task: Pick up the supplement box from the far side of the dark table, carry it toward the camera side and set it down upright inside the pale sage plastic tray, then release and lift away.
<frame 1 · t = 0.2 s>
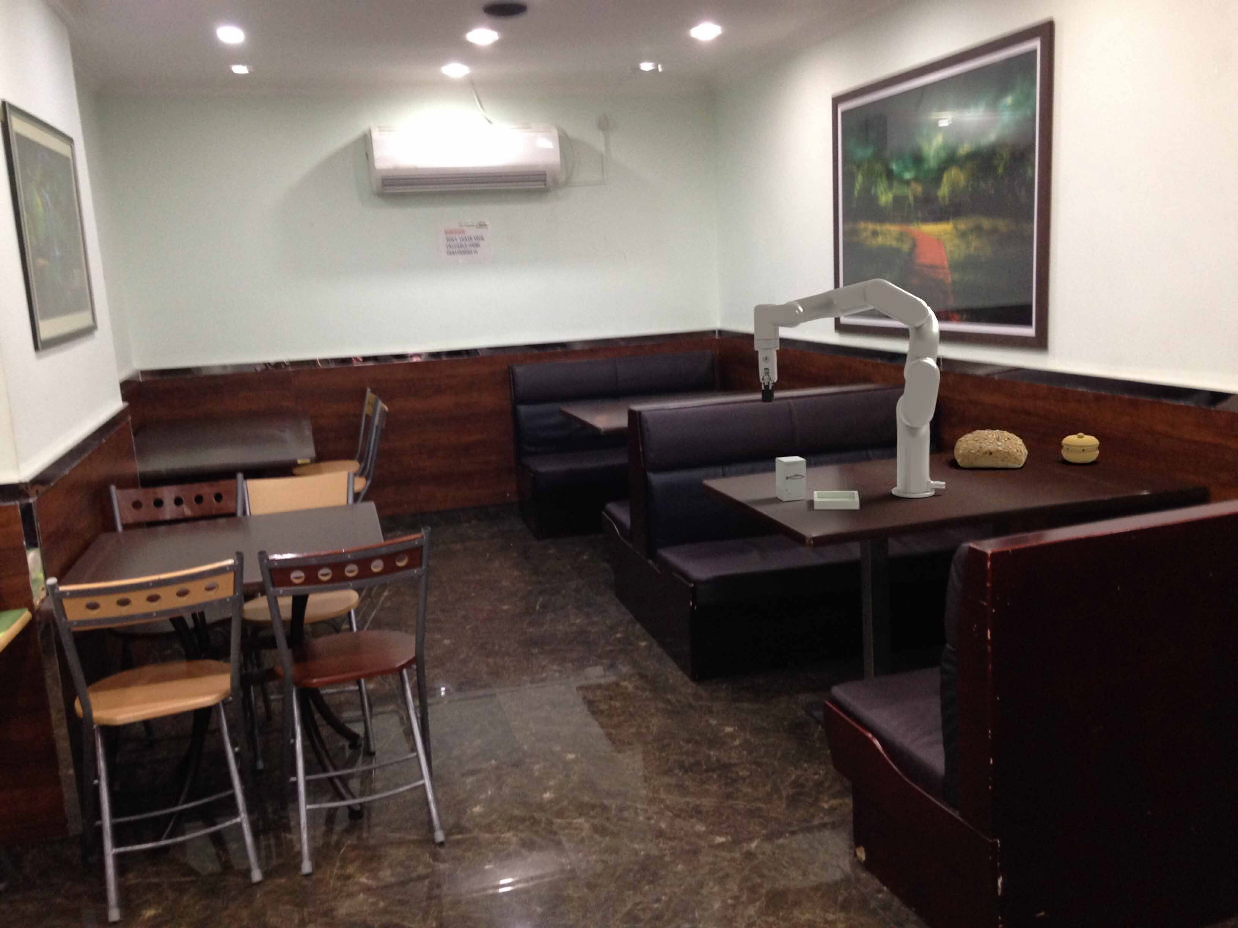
hand: (768, 400, 321), 30 cm above the table, tool pointing down, fingers open, 9 cm apart
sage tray: (836, 503, 311), on the table
bread: (990, 464, 357), on the table
supplement box: (791, 498, 322), on the table
pot: (1079, 462, 353), on the table
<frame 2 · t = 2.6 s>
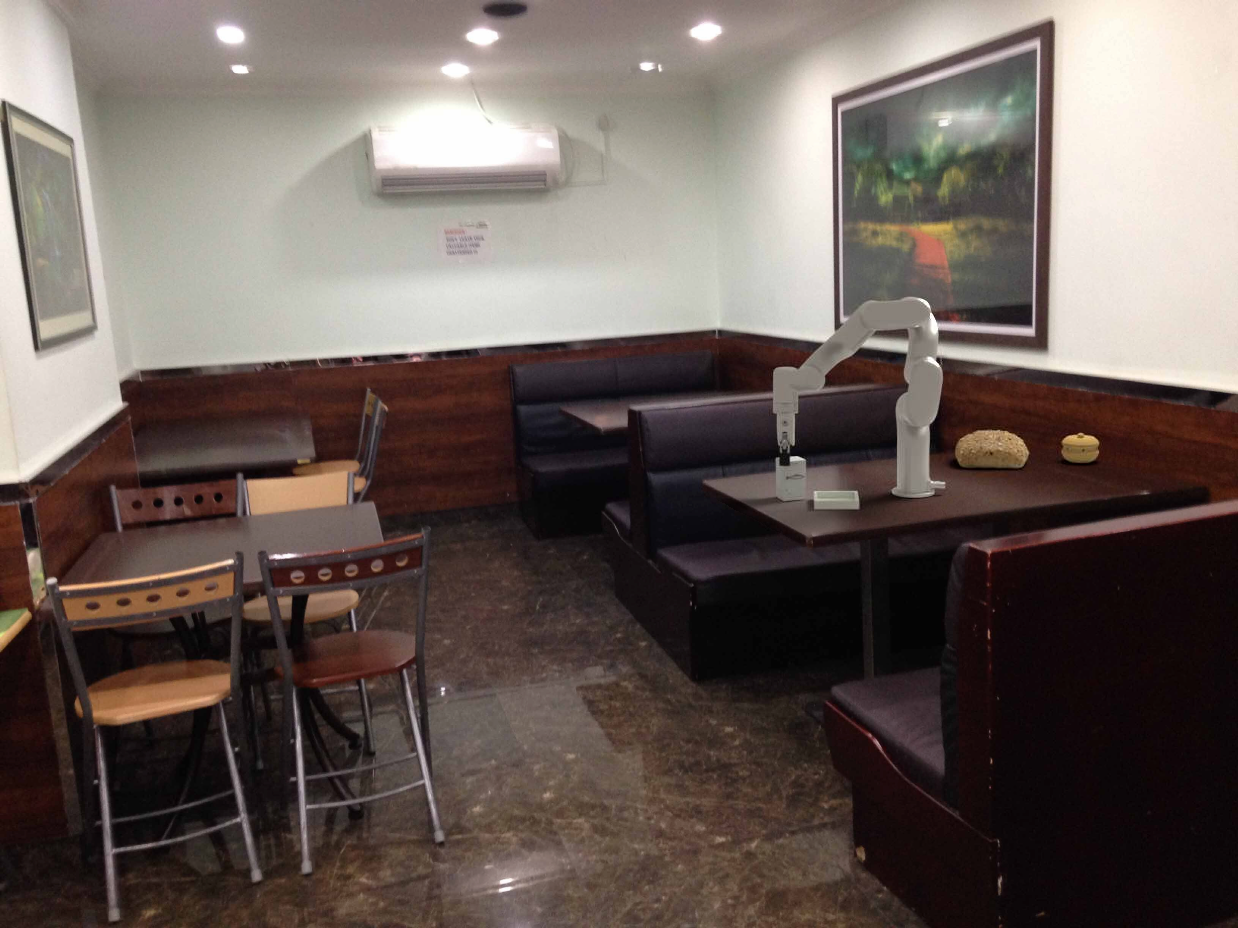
hand: (785, 462, 320), 11 cm above the table, tool pointing down, fingers open, 9 cm apart
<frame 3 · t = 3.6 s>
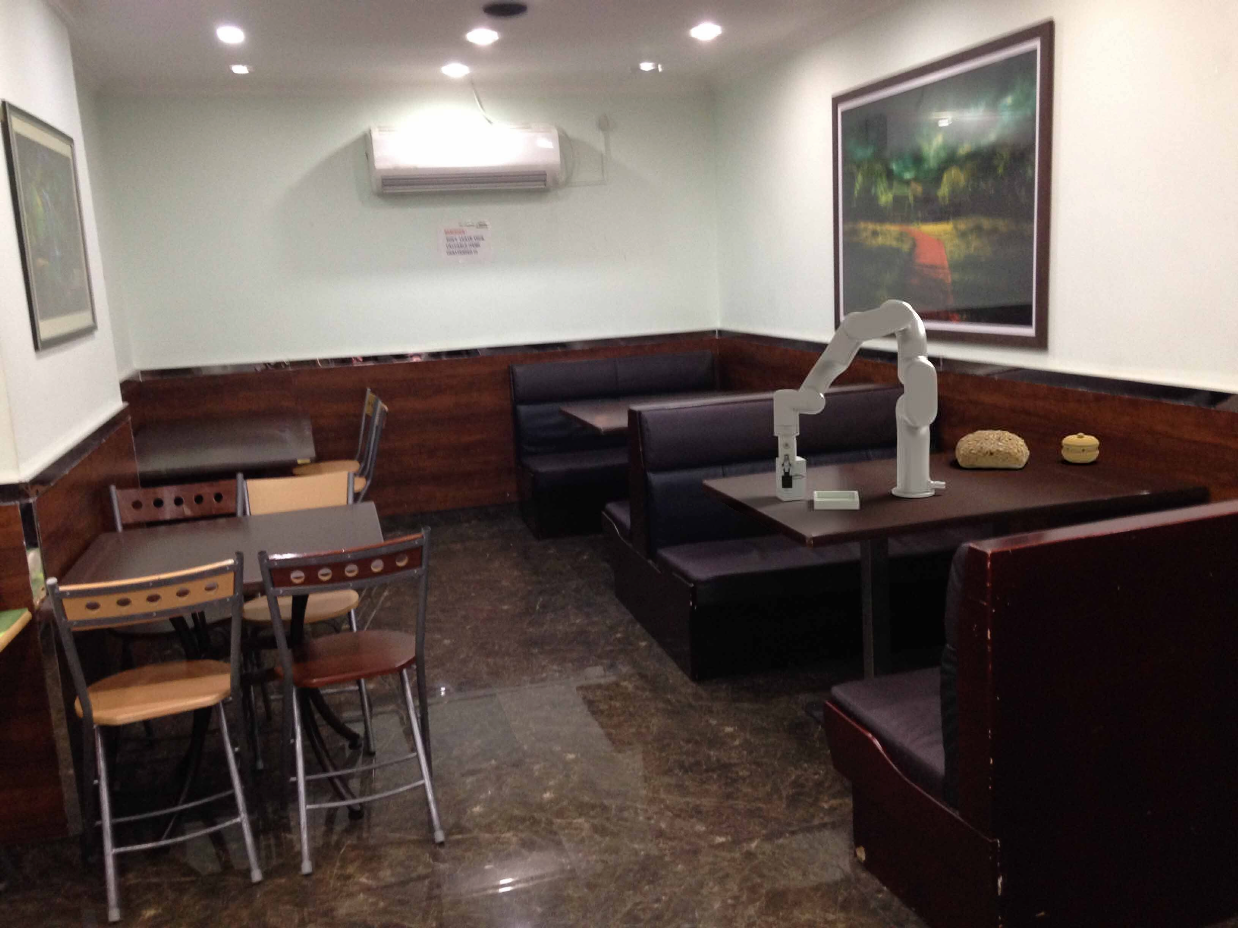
hand: (787, 484, 321), 4 cm above the table, tool pointing down, fingers open, 9 cm apart
nothing on the table moved.
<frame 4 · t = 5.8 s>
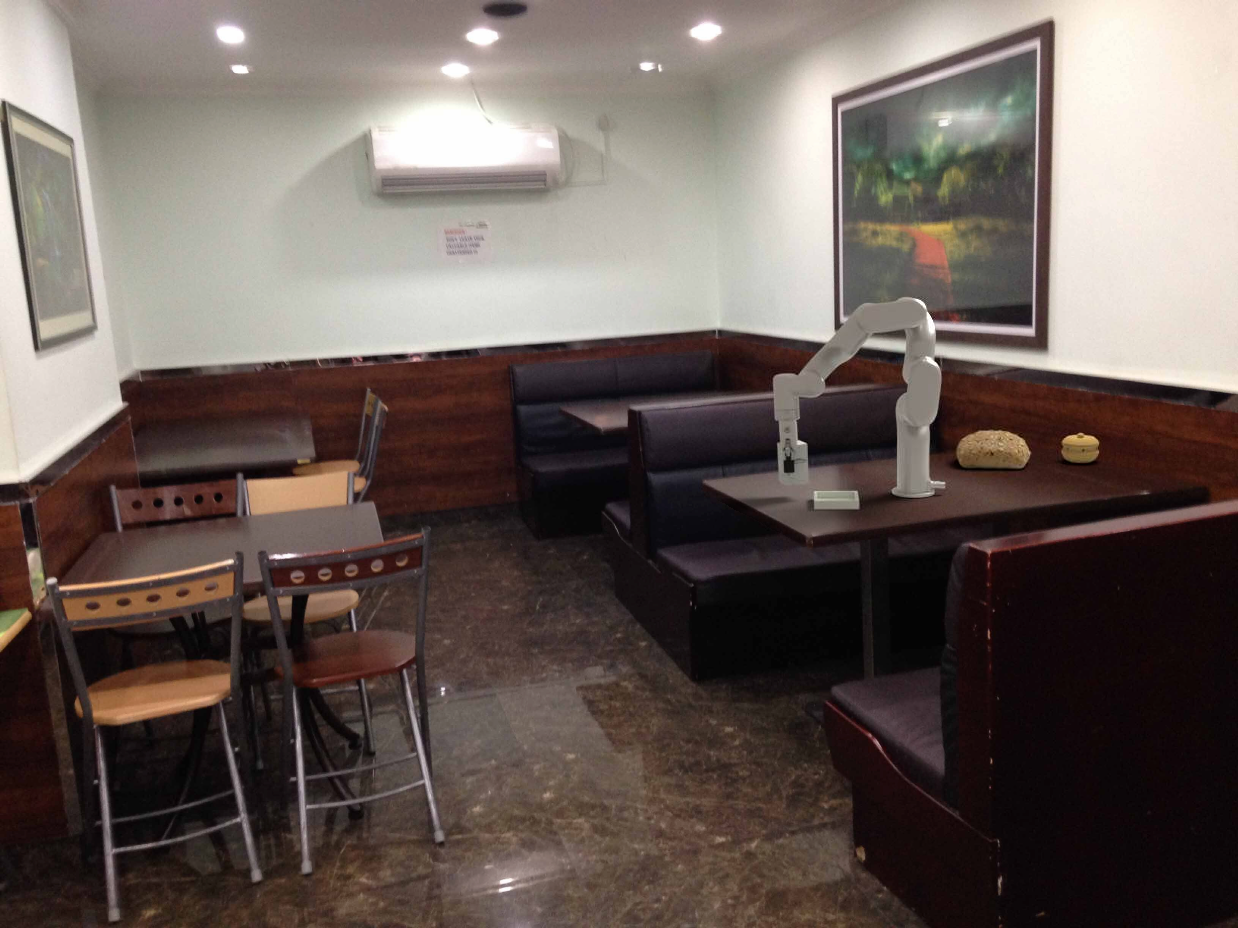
hand: (789, 469, 320), 9 cm above the table, tool pointing down, fingers closed on supplement box, 8 cm apart
supplement box: (793, 483, 321), point 5 cm above the table, touching gripper
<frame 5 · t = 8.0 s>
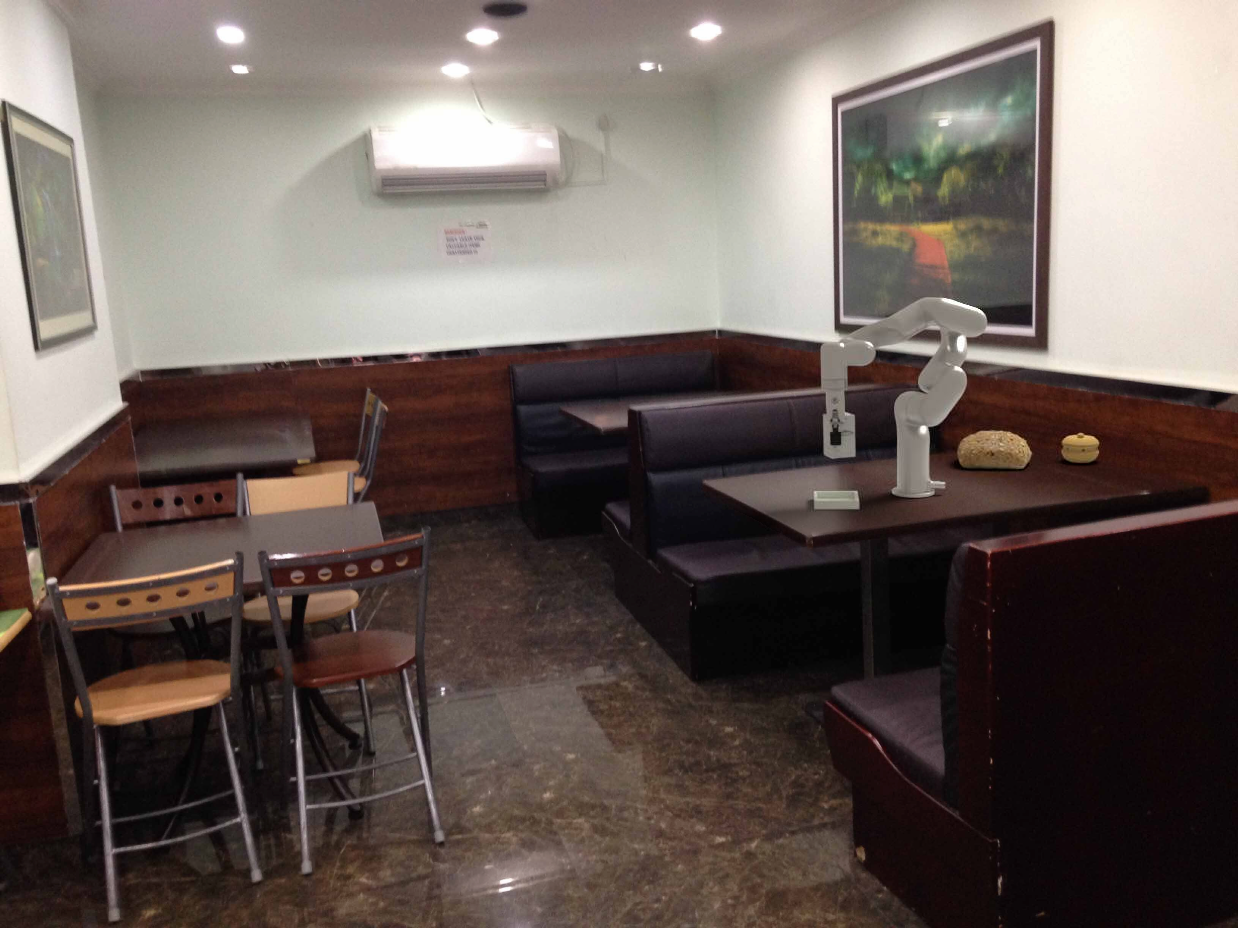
hand: (835, 442, 308), 19 cm above the table, tool pointing down, fingers closed on supplement box, 8 cm apart
supplement box: (839, 456, 309), point 14 cm above the table, touching gripper
when the fingers open (6 cm above the table, at t = 11.7 s): supplement box stays where it is, resting on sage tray.
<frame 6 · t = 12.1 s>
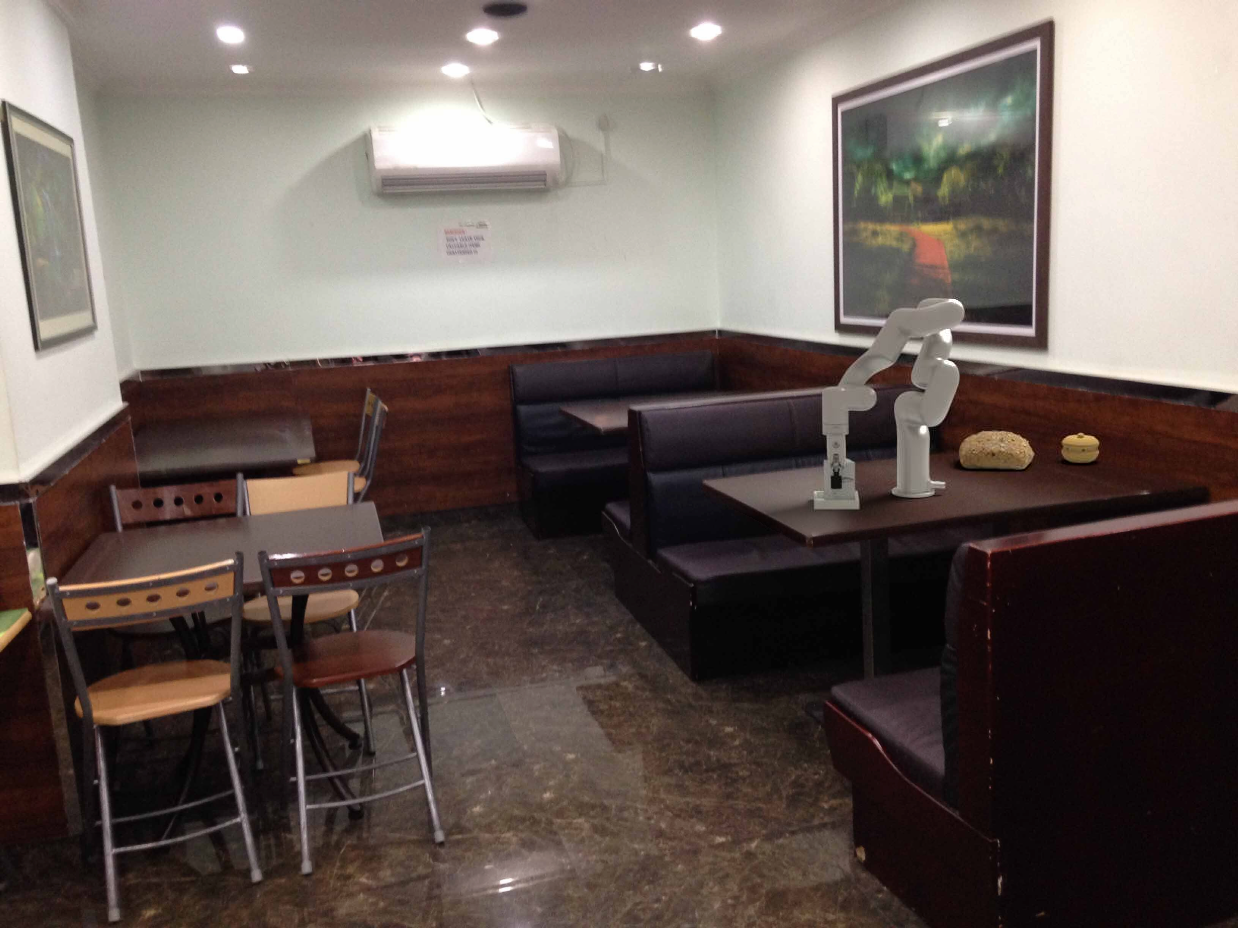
hand: (835, 485, 310), 6 cm above the table, tool pointing down, fingers open, 9 cm apart
supplement box: (839, 502, 311), resting on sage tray
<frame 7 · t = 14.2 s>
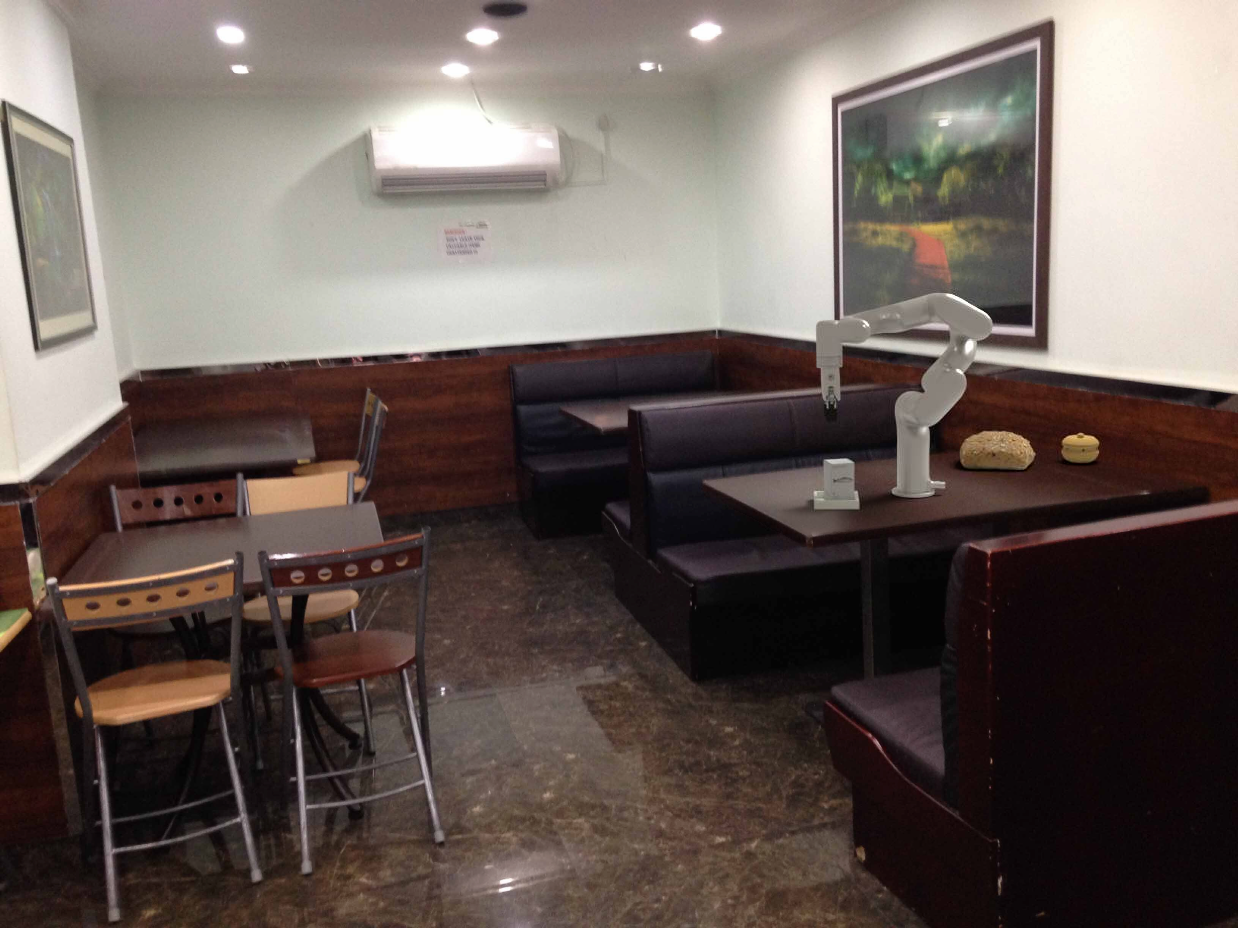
hand: (830, 418, 311), 25 cm above the table, tool pointing down, fingers open, 9 cm apart
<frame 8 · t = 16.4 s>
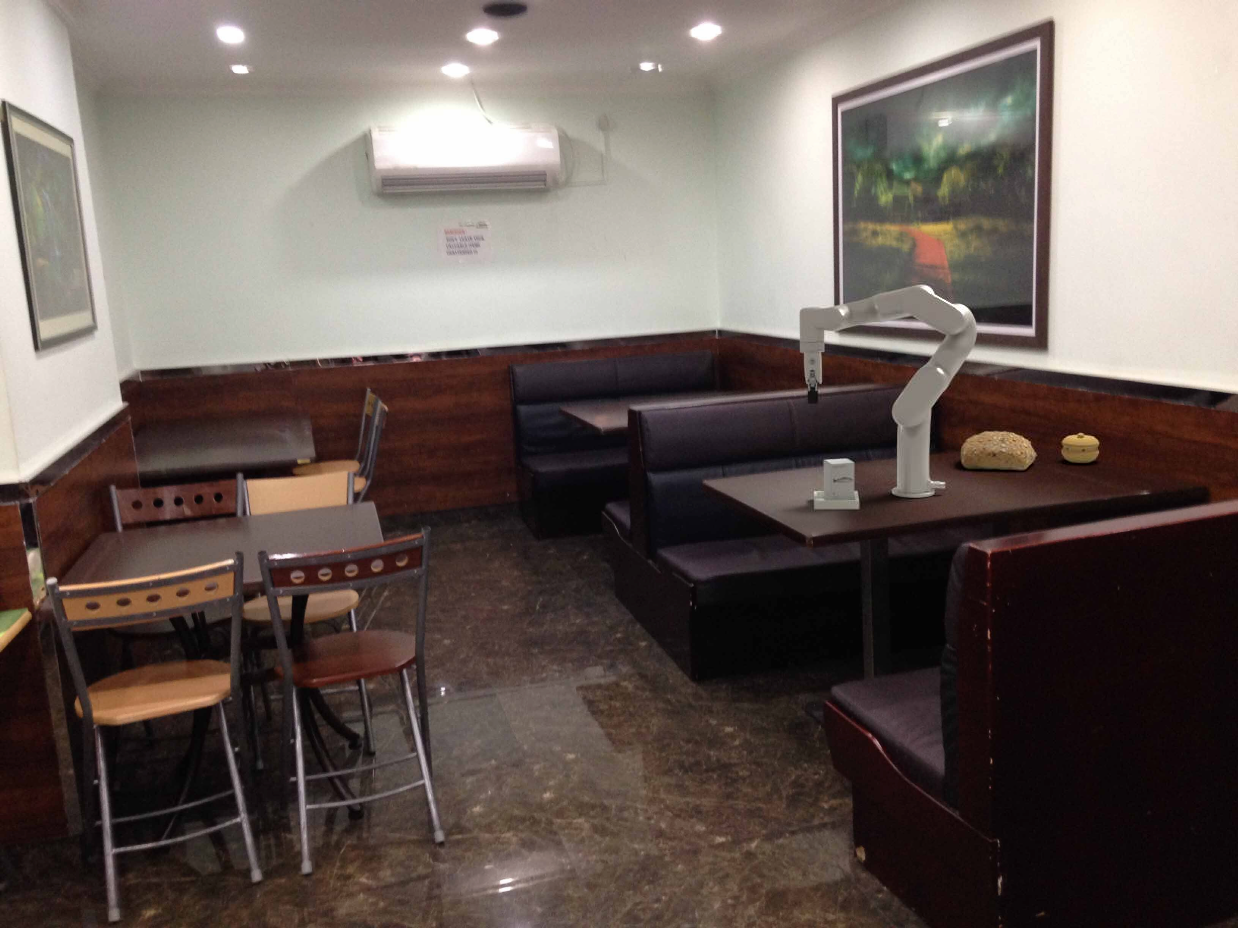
hand: (812, 401, 327), 28 cm above the table, tool pointing down, fingers open, 9 cm apart
at the end: supplement box 0.9 cm off-centre on the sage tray, point 0.4 cm above the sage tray's base; supplement box tilted 0°; the gripper is holding nothing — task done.
